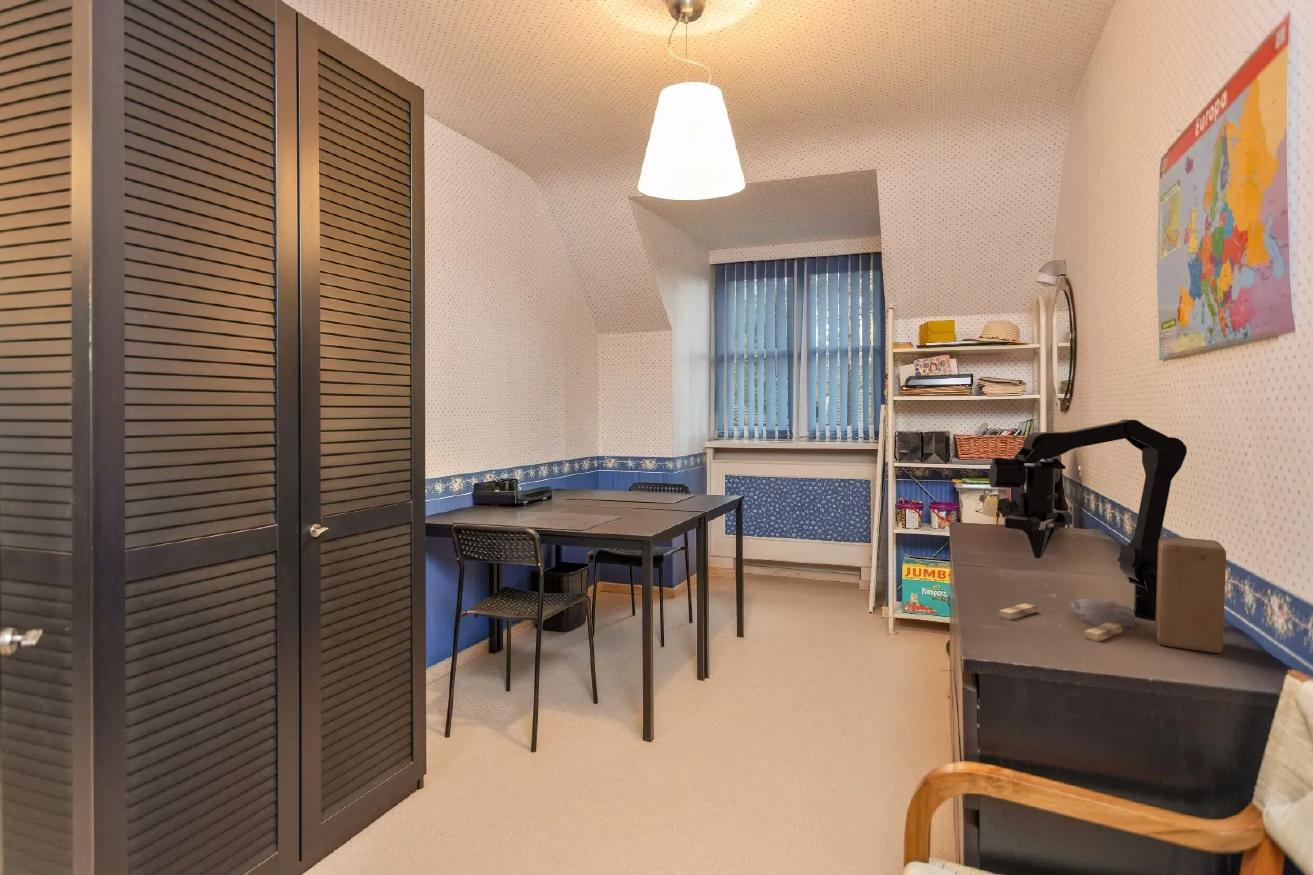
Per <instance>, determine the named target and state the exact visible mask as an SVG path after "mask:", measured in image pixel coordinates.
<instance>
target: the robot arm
mask: <svg viewBox="0 0 1313 875" xmlns="http://www.w3.org/2000/svg"><path fill="white" fill-rule="evenodd" d="M1120 440H1126V441H1127V442H1129V444H1131V445H1132V446H1133V447H1135V448H1136V449H1138V450H1140V451H1141V462H1142V464H1141V465H1142V467H1143V469H1144V473H1145V475H1144V476H1145V478H1144V484H1143V487H1142V488H1143V489H1142V494H1141V499H1140V503H1139V509H1138V515H1137V518H1136V519H1137V520H1136V523H1135V530H1134V535H1133V538H1132V540H1131V541H1130V542H1129V543H1128V545H1127V544H1124V543H1121V544H1120V551H1119V557H1118V558H1117V559H1116V560H1117V562H1119V569H1120V570H1121V572H1122V573H1123V574H1124V576H1126V577H1127V580H1128V583H1130V584H1133V585H1134V591H1133V592H1134V594H1133V609H1132V610H1133V611H1134V614H1135V617H1140V618H1145V619H1150V620H1153V621H1154V620H1155V621H1156V591H1157V561H1158V540H1159V539H1160V537H1162V536H1161V535H1162V531H1163V530H1162V529H1163V526H1164V521H1165V515H1166V509H1167V504H1168V500H1169V496H1170V495H1169V494H1170V488H1171V484H1172V480H1173V478H1175V476H1176V475H1177V473H1179V471H1180V470H1181V469H1182V465H1183V464H1184V461H1185V458H1186V456H1187V451H1188V448H1187V445H1185V443H1184V442H1183V440H1181V439H1179V437H1178V438H1177V437H1174V436H1172V437H1171V436H1168V435H1166V434H1164V433H1162V432H1160V431H1158V430H1155V429H1153V428H1152V427H1149V426H1147V425H1146V424H1144V423H1142V422H1141V421H1140V420H1137V419H1128V418H1126V419H1121V420H1119V421H1115V422H1111V423H1110V422H1109V423H1106V424H1105V423H1104V424H1100V425H1095V426H1090V427H1089V426H1088V427H1084V428H1080V429H1074V430H1070V431H1069V430H1068V431H1041V432H1037V431H1036V432H1032V433H1029V434H1028V435H1027V436H1026V437H1025V439H1024V441H1023V446H1022V447H1021V448H1020V449H1019V450H1018V451H1017V453H1016V454H1015V456H1014V457H1013V458H1002V457H992V461H991V462H992V463H991V464H990V466H989V467H990V468H989V470H988V471H987V472H988V476H987V477H988V478H987V479H988V483H989V486H990V488H992V489H993V488H994V489H995V488H996V489H998V488H999V489H1019V488H1021V487H1022V485H1025V491H1023V492H1021V493H1020V495H1019V499H1014V500H1011V499H1010V498H1009V497H1002V498H1000V499H997V504H996V506H997V507H996V512H998V513H1000V514H1001V517H1002V518H1003V519H1004V522H1003V523H1004V524H1003V525H1004V526H1003V527H1004V528H1006V529H1007V528H1008V529H1014V530H1019V531H1022V532H1024V533H1025V534H1026V537H1027V538H1028V541H1029V543H1030V547H1031V550H1032V553H1033V556H1034V558H1035V559H1042V558H1043V555H1044V554H1045V552H1046V551H1047V549H1048V547H1049V545H1050V543H1051V541H1052V540H1053V538H1054V537H1055V535H1056V534H1057V533H1058V531H1059V530H1060V526H1059V527H1057V526H1054V523H1061V524H1062V523H1063V525H1065V526H1067V525H1068V526H1069V525H1072V524H1073V516H1074V515H1072V514H1071V513H1070V511H1069V510H1068V511H1067V510H1060V509H1059V510H1058V509H1055V499H1057V500H1058V498H1059V493H1056V492H1055V482H1056V481H1055V480H1056V475H1055V474H1056V470H1065V469H1066V468H1067V466H1066V465H1064V464H1063V463H1062V462H1061V461H1060V460H1059V458H1057V457H1059V456H1061V455H1063V454H1066V453H1068V452H1070V451H1071V450H1074V449H1077V448H1083V447H1087V446H1094V445H1098V444H1103V443H1107V442H1113V441H1120ZM1049 459H1051V460H1049ZM1027 464H1028V465H1027ZM1029 464H1030V465H1029ZM1031 464H1032V465H1031ZM1053 522H1054V523H1053Z"/></svg>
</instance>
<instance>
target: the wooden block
mask: <svg viewBox="0 0 1313 875" xmlns="http://www.w3.org/2000/svg"><path fill="white" fill-rule="evenodd" d="M1226 569H1227V551H1226V549H1225V547H1223V545H1222V544H1221V543H1220V542H1219V541H1217V540H1215V539H1214V540H1213V539H1201V538H1189V537H1188V538H1187V537H1177V536H1160V539H1159V540H1158V561H1157V591H1156V620H1155V625H1154V627H1155V628H1154V629H1155V634H1156V639H1157V642H1158V644H1159V645H1162V646H1163V647H1168V648H1169V647H1170V648H1176V649H1184V650H1190V651H1197V652H1203V653H1211V654H1220V653H1222V651H1223V650H1224V624H1225V598H1226V573H1227V572H1226V571H1227V570H1226Z"/></svg>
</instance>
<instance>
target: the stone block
mask: <svg viewBox="0 0 1313 875" xmlns="http://www.w3.org/2000/svg"><path fill="white" fill-rule="evenodd" d="M1070 607H1071V608H1072V609H1073V611H1074V612H1075V614H1076V615H1077V617H1078V619H1080V621H1081V622H1082V623H1085V624H1087V625H1090V626H1093V627H1096V626H1099V625H1102V624H1105V623H1108V622H1113V623H1117V624H1122V625H1123V629H1125V628H1135V626H1136V623H1135V622H1136V616H1135V614H1134V611H1133V609H1132V608H1131V607H1130V606H1127V605H1121V604H1117V603H1116V601H1115V600H1113V599H1110V600H1109V599H1108V600H1106V599H1097V598H1081V599H1076V600H1072V601H1071V602H1070Z"/></svg>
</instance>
